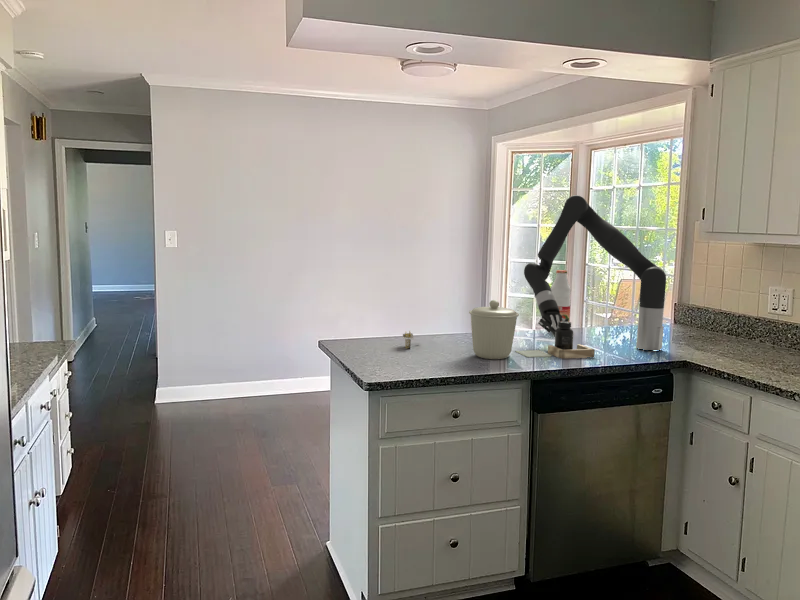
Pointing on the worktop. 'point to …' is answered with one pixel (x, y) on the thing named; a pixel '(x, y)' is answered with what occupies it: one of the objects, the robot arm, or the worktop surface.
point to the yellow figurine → (408, 338)
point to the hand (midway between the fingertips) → (559, 339)
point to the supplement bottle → (564, 336)
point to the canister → (493, 330)
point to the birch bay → (571, 352)
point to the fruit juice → (562, 293)
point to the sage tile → (534, 353)
